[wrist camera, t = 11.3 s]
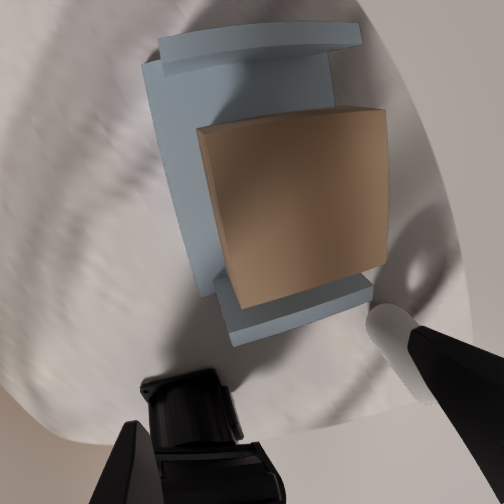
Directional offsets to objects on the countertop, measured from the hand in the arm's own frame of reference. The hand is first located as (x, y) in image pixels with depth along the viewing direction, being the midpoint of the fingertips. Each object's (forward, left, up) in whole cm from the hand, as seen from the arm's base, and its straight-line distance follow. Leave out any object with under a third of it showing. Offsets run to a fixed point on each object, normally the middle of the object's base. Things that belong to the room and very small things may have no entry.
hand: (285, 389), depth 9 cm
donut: (+12, -12, -12) cm, 21 cm away
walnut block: (+3, +3, -7) cm, 8 cm away
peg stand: (+3, +3, -12) cm, 13 cm away
